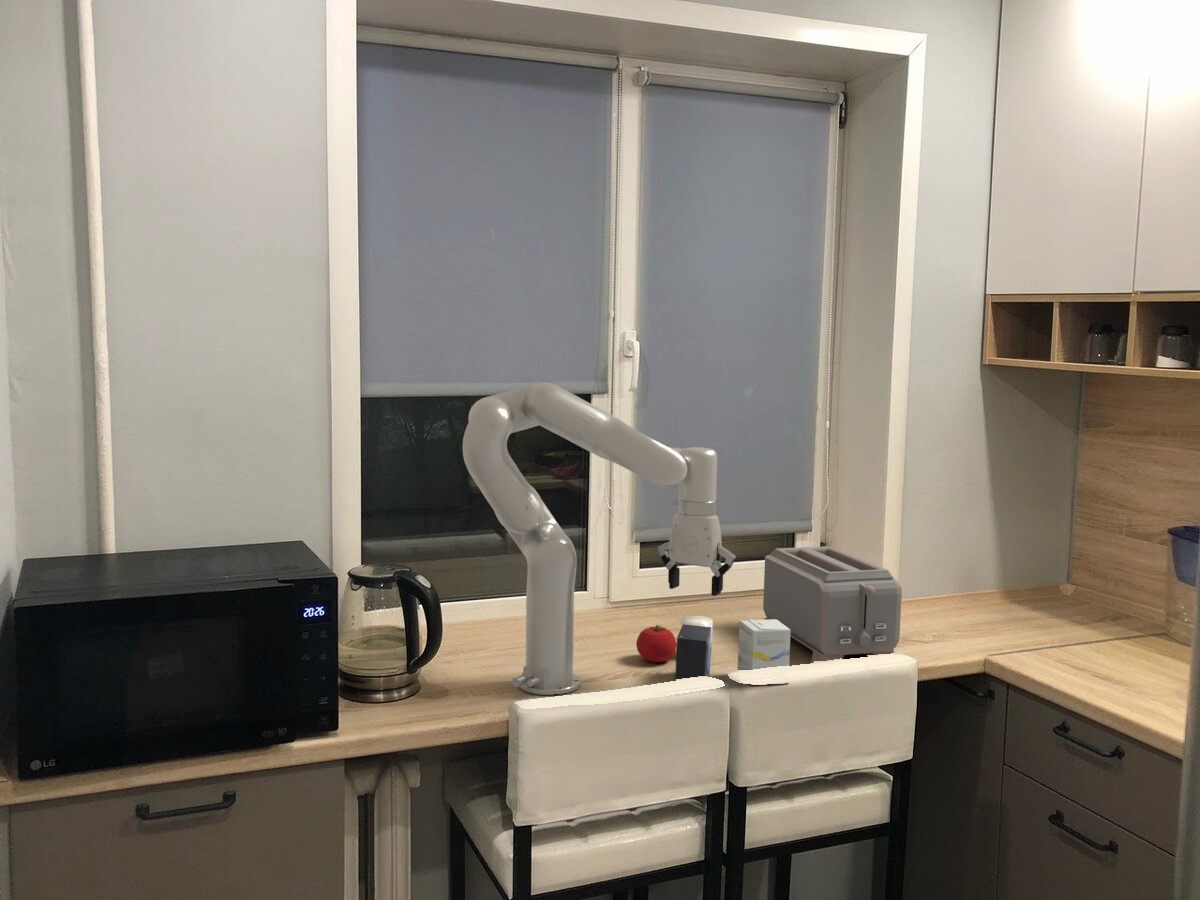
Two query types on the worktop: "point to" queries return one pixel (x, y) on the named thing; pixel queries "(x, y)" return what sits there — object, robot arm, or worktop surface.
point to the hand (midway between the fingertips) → (695, 590)
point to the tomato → (656, 644)
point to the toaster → (833, 601)
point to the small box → (693, 651)
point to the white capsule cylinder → (698, 623)
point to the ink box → (763, 644)
